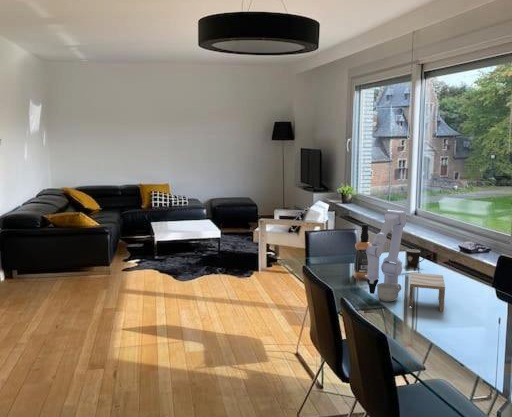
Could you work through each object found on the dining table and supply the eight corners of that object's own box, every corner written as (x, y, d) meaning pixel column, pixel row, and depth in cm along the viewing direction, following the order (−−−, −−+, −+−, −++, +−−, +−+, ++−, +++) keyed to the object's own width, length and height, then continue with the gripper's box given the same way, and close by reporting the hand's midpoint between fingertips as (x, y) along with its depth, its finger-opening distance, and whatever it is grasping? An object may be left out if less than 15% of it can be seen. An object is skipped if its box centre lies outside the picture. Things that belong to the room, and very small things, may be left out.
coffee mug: (403, 264, 339) (403, 249, 337) (414, 263, 341) (415, 249, 340) (413, 269, 328) (414, 253, 326) (425, 268, 330) (426, 252, 329)
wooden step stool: (409, 295, 275) (410, 272, 273) (441, 298, 270) (442, 275, 268) (408, 308, 254) (410, 283, 252) (443, 312, 249) (445, 286, 247)
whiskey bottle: (370, 275, 312) (372, 223, 308) (372, 280, 303) (375, 226, 298) (353, 274, 313) (355, 222, 309) (354, 279, 304) (356, 225, 299)
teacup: (383, 304, 260) (383, 288, 259) (372, 297, 270) (373, 282, 269) (407, 301, 264) (408, 286, 262) (396, 295, 274) (397, 280, 273)
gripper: (366, 263, 275) (365, 288, 277) (364, 270, 262) (362, 296, 264) (380, 265, 273) (379, 289, 275) (378, 272, 259) (377, 298, 261)
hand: (372, 293), depth 269 cm, fingers closed
